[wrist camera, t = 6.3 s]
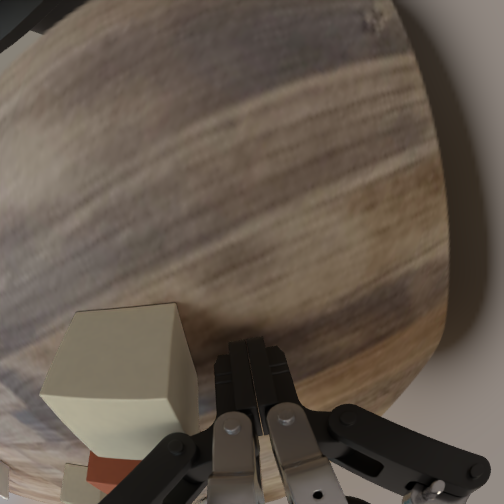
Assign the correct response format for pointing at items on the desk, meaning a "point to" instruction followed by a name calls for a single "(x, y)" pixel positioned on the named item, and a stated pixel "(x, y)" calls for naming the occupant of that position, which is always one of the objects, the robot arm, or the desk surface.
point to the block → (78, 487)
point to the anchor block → (108, 471)
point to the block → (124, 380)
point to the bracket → (4, 480)
